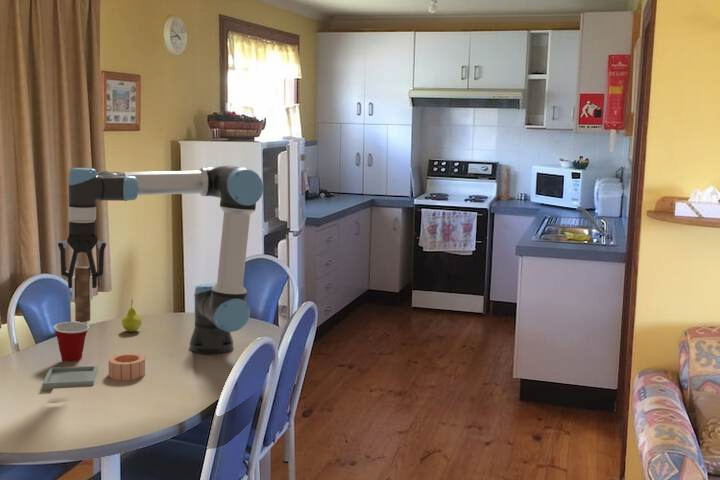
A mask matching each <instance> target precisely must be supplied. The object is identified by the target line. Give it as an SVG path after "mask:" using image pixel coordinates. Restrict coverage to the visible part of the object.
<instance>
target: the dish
mask: <svg viewBox="0 0 720 480" xmlns="http://www.w3.org/2000/svg"><path fill="white" fill-rule="evenodd" d="M98 372H99V365H97V364H96V365H81V366H79V365H77V366H57V367H49V369H48V371H47V373H46V375H45V377H44V380H43V381H42V391H47V392H48V391H53V389H54V388H63V387H81V386H94V385H95V383H96V382H95V381H96V378H97V374H98Z"/></svg>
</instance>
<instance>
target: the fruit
mask: <svg viewBox="0 0 720 480" xmlns="http://www.w3.org/2000/svg"><path fill="white" fill-rule="evenodd" d="M131 302H133V299H131ZM121 324H122V327H123V329H124V330H126V331H127V332H129V333H133V332H136V331H138V330H139V329H141V328H140V327H141V325H142V317H141V316H140V315H138V314H137V312H136V309H135V308H134V307H133V304H131V307H130V308H128V311H127V313H126V315H125V316H123V318H122V319H121Z"/></svg>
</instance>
